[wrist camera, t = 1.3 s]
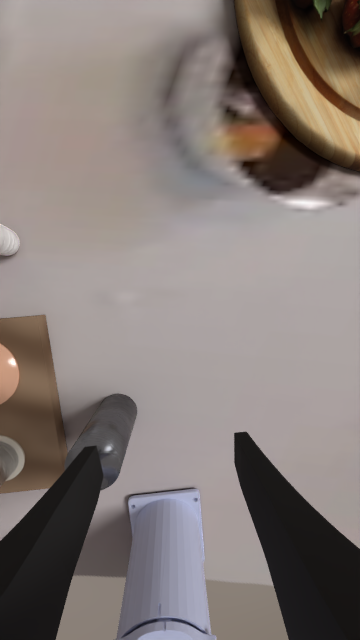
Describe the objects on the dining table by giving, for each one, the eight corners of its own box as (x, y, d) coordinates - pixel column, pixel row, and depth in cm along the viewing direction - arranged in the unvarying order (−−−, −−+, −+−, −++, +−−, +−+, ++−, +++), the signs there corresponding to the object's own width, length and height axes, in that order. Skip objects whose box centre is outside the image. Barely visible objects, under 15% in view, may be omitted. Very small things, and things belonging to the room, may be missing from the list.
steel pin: (138, 426, 22) (123, 488, 15) (102, 430, 21) (68, 493, 15) (135, 392, 21) (117, 438, 14) (97, 395, 21) (60, 444, 14)
